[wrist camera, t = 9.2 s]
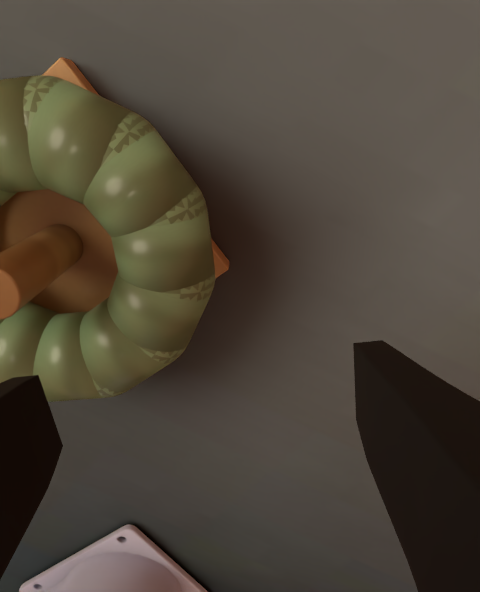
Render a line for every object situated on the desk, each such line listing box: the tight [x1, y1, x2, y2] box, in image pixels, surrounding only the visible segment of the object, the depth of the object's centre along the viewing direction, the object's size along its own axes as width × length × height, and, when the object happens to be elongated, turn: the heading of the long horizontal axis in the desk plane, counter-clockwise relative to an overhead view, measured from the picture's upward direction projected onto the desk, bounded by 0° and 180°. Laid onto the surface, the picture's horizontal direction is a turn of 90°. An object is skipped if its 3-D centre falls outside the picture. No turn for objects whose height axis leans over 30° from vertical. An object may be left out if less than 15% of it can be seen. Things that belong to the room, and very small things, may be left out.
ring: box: [0, 75, 215, 402], centre depth 17 cm, size 12×12×4 cm
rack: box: [0, 57, 230, 319], centre depth 16 cm, size 10×10×6 cm
